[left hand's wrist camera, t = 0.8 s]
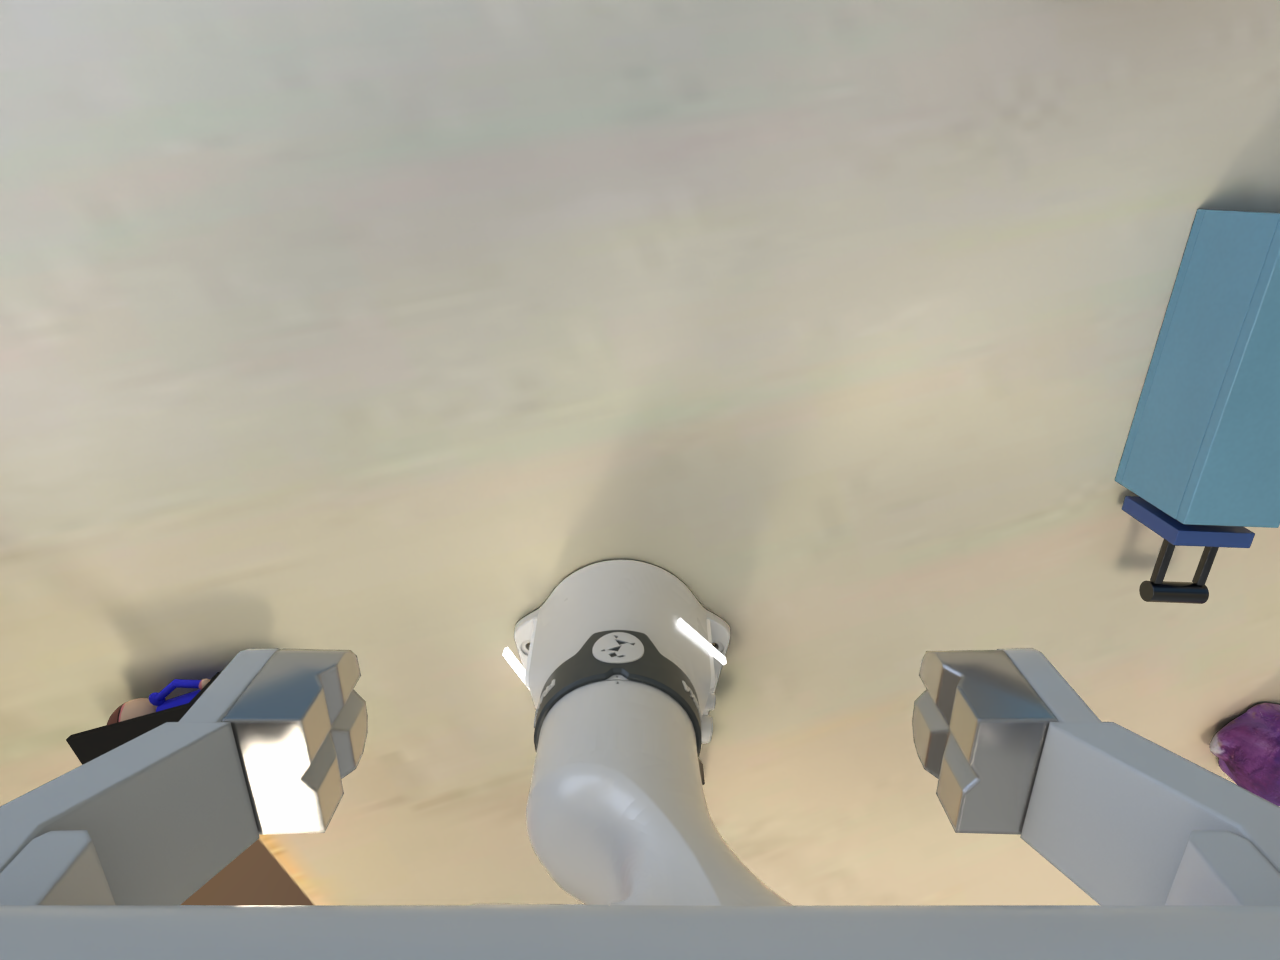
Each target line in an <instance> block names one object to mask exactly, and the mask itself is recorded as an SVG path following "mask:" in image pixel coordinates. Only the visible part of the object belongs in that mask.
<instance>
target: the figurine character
mask: <svg viewBox="0 0 1280 960" xmlns="http://www.w3.org/2000/svg"><path fill="white" fill-rule="evenodd" d="M221 672H222V671H221ZM221 672H218V673H217V674H216V675H215V676H214V677H213V678H212V679H211V680H210V679H203V680H184V679H174V680H173V681H172V682H171V683H170V684H168V685H167V686H166V687H165V688H164V689H163V690H162V691H160V692H159V693H157V692H155V693H152V694H151V695H150V696H149V698H137V699H133V700H130V701H128V702H126V703H124V704H122V705H121V706H120V707H118V708H117V709H116V710H115V711H114V712H113V714H112V715H111V716H110V718H109V720H108V723H107V725H106V726H103V727H99V728H95V729H92V730H88V731H84V732H81V733H77V734H73V735H71V736H69V737H68V738H67V739H66V741H67V742H68V744H69V745H70V747H71V748H72V750H73V751H74V753H75V754H76V756H77V757H78V759H79V760H80V762H81V763H82V765H83V764H85V763H87V762H89V761H91V760H93V759H95V758H97V757H99V756H101V755H103V754H105V753H107V752H109V751H111V750H113V749H115V748H117V747H119V746H121V745H123V744H125V743H127V742H129V741H131V740H133V739H135V738H137V737H139V736H141V735H142V734H144V733H146V732H148V731H150V730H152V729H154V728H156V727H158V726H160V725H162V724H164V723H166V722H179V721H180V720H181V718H182V717H183V716H184V715H185V714H186V713H187V711H188V710H189V709H190V708H191V707H192V706H193V705H194V703H195V702H196V701H197V700H198V699H199V698H200V696H201V695H202V694H203V693H204V692H205V691H206V690H207V688H208V687H209V686H210V685H211V684H212V683H213V681H214V680H215V679H216V678H217V677H218V676H219V675H220V673H221ZM176 688H199V690H196V691H193V692H190V693H187V694H184V695H181V696H178V697H175V698H172V699H169V700H166V701H165V697H166V696H167V695H169V694H170V693H171V692H172V691H173V690H174V689H176Z"/></svg>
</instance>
